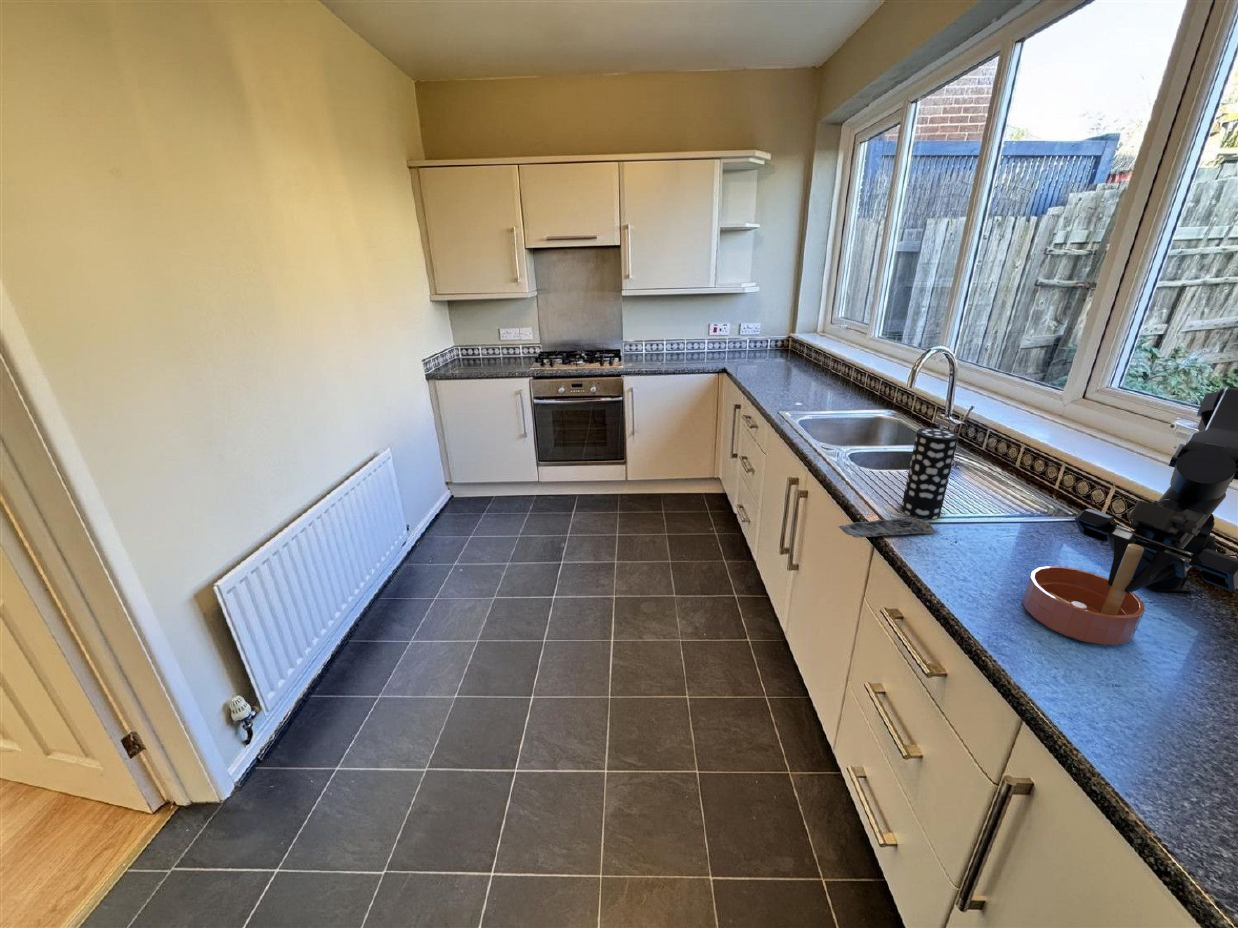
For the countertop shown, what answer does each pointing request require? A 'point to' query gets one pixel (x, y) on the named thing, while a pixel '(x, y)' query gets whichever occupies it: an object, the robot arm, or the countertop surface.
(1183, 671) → the countertop surface
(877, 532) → the driftwood
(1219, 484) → the robot arm
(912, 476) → the spotted tube
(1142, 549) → the stirrer
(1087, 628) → the bowl
